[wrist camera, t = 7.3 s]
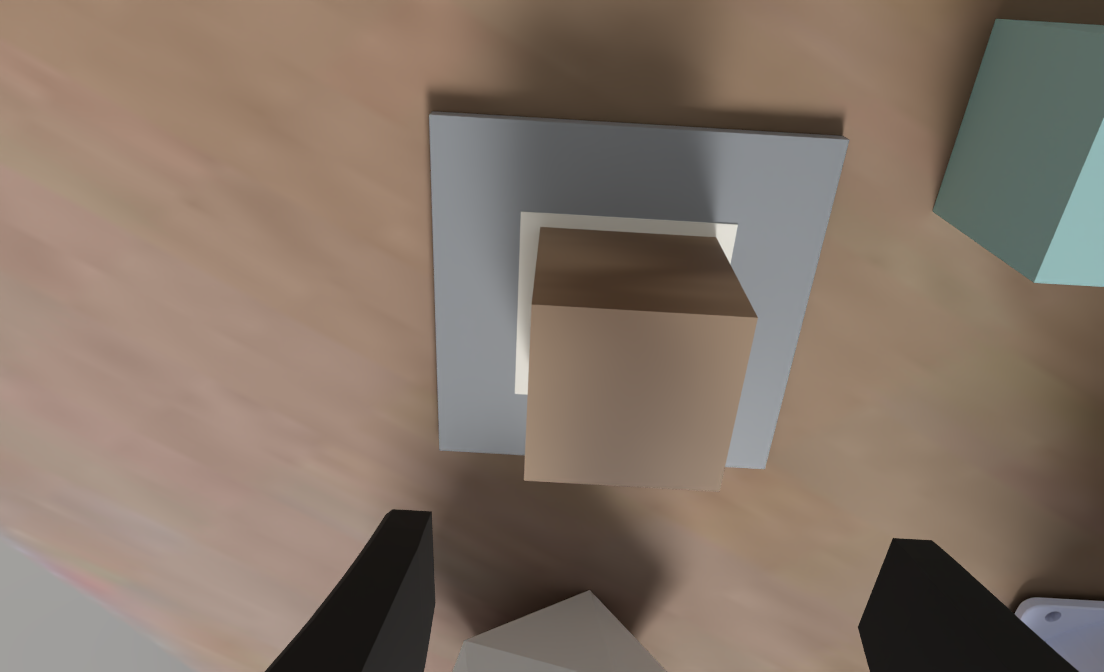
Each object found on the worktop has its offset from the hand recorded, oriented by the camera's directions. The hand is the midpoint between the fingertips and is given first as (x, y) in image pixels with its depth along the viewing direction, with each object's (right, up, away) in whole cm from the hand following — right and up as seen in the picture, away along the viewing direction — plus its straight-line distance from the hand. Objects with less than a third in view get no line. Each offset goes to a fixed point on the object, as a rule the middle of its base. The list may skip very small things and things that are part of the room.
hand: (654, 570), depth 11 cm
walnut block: (0, +4, +8) cm, 9 cm away
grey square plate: (0, +5, +8) cm, 9 cm away
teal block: (+10, +9, +6) cm, 15 cm away
